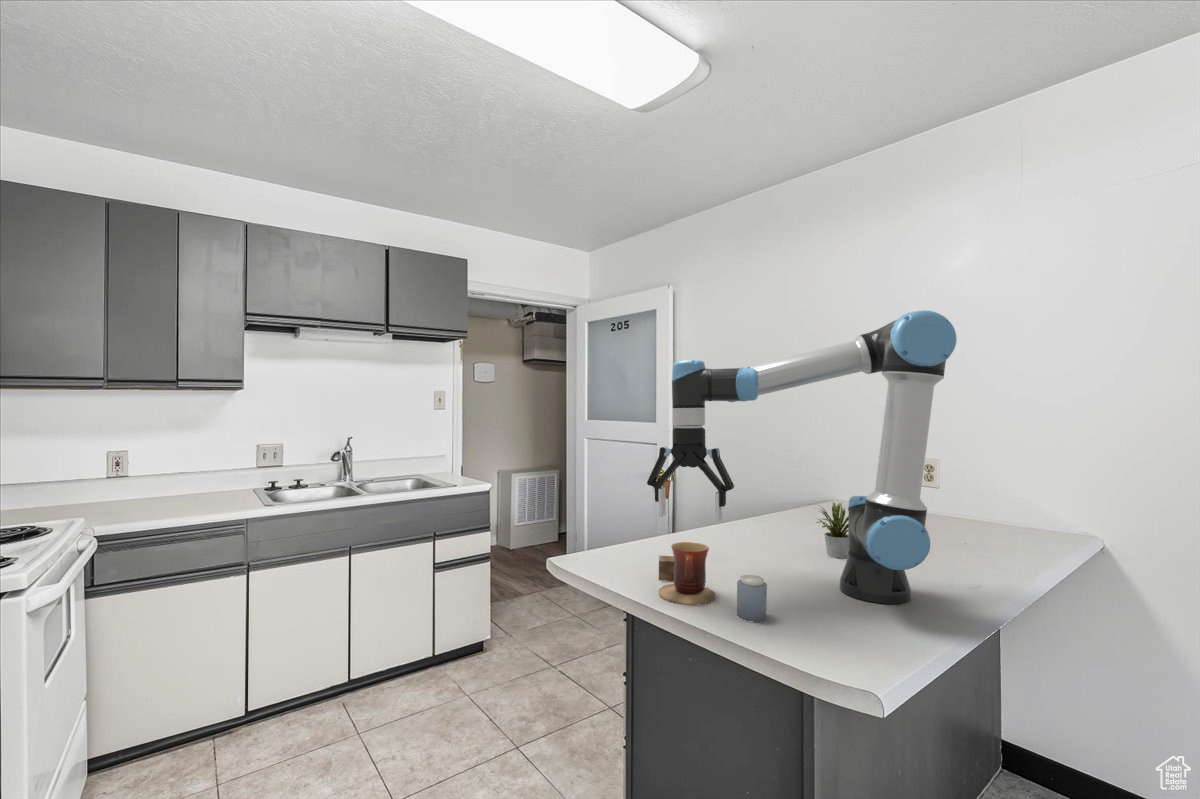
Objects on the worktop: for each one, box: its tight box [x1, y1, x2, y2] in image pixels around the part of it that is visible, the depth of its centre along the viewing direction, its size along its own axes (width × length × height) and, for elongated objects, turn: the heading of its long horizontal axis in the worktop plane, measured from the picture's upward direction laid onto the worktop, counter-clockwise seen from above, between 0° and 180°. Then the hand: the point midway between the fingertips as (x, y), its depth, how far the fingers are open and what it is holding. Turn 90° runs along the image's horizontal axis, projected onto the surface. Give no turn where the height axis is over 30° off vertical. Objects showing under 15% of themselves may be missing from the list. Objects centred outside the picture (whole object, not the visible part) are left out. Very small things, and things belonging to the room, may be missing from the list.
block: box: [658, 555, 674, 582], centre depth 142 cm, size 5×5×5 cm
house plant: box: [813, 501, 849, 559], centre depth 166 cm, size 14×14×16 cm
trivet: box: [658, 583, 716, 606], centre depth 129 cm, size 13×13×1 cm
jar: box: [736, 574, 768, 623], centre depth 117 cm, size 6×6×8 cm
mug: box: [670, 541, 710, 594], centre depth 129 cm, size 12×9×10 cm
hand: (689, 518), depth 129 cm, fingers open, 13 cm apart
